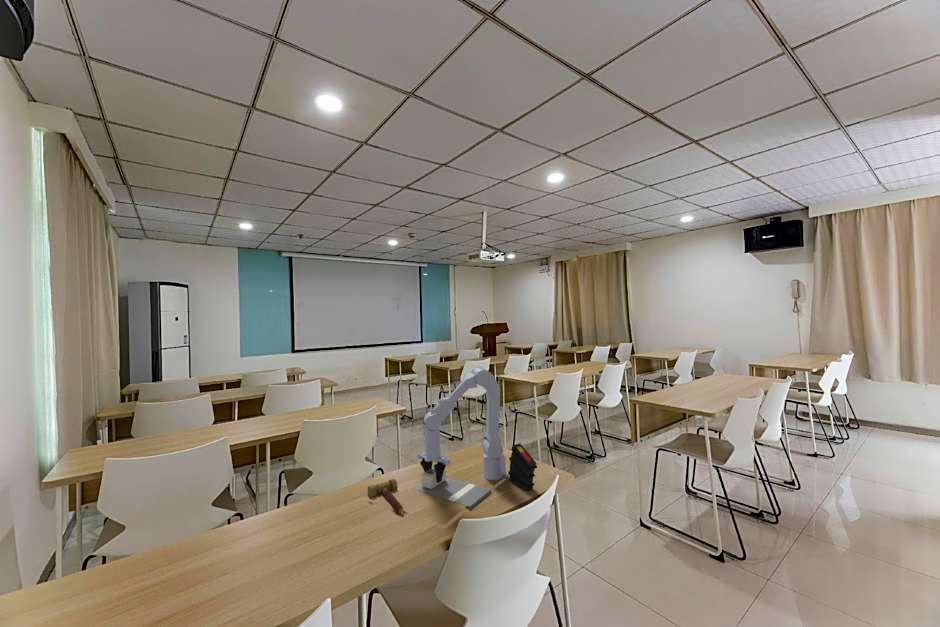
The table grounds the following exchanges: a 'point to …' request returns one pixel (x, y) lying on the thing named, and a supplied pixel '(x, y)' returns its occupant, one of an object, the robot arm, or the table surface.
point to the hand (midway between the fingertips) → (434, 480)
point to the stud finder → (431, 478)
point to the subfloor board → (457, 492)
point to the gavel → (387, 493)
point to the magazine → (522, 468)
